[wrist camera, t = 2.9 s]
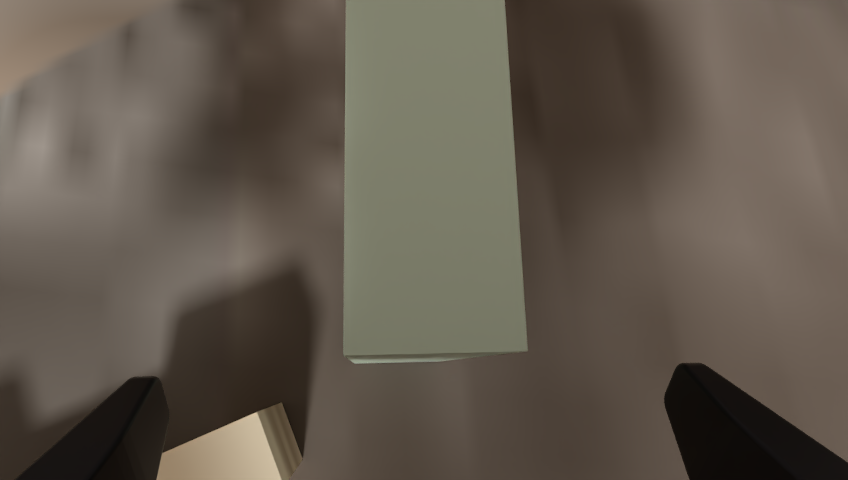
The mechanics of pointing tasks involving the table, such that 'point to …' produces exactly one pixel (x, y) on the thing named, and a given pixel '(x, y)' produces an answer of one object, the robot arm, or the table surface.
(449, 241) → the tall green pillar
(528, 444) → the table surface
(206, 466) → the birch rail
